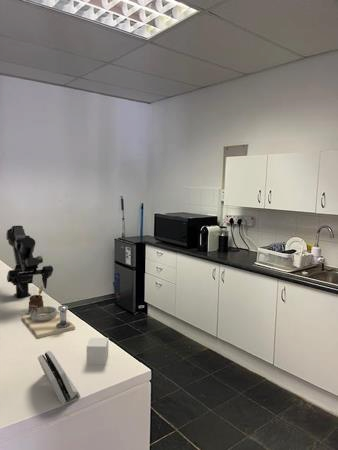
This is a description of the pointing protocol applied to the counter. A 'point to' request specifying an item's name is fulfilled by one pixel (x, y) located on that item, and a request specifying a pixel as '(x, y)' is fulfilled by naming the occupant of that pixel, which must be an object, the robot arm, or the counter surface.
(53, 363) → the grey electronic device
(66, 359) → the counter surface
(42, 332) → the wooden stand with ring
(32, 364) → the counter surface
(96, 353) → the grey cube
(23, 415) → the counter surface
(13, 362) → the counter surface
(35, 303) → the utensil holder
